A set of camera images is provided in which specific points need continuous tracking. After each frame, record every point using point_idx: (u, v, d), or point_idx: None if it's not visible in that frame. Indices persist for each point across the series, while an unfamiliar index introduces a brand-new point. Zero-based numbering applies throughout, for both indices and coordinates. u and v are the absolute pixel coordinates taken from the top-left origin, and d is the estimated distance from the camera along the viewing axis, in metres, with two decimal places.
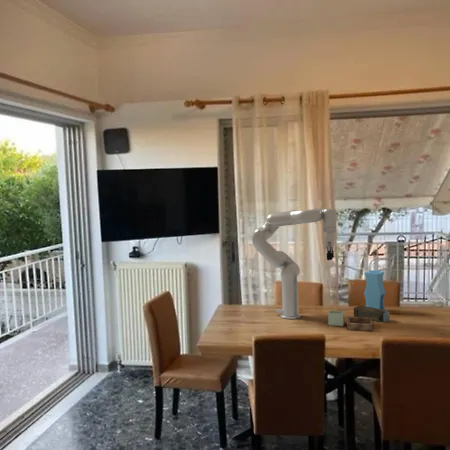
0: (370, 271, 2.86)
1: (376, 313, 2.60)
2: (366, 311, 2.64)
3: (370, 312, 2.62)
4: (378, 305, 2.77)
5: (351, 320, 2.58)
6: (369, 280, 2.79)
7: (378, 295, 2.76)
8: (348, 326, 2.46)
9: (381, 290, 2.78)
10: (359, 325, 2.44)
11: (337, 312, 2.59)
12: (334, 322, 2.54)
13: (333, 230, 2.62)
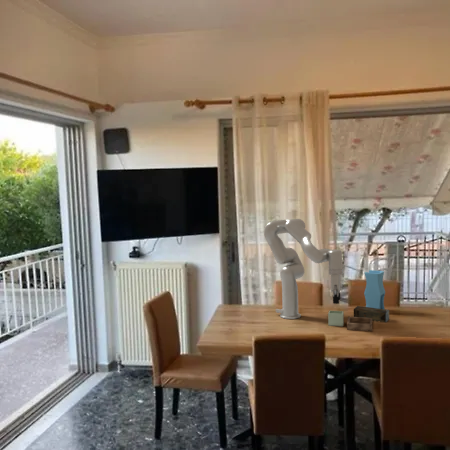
0: (370, 271, 2.86)
1: (378, 313, 2.60)
2: (367, 311, 2.63)
3: (371, 312, 2.62)
4: (378, 305, 2.77)
5: (351, 320, 2.58)
6: (369, 280, 2.79)
7: (378, 295, 2.76)
8: (348, 326, 2.46)
9: (381, 290, 2.78)
10: (359, 325, 2.44)
11: (337, 312, 2.59)
12: (334, 322, 2.54)
13: (339, 272, 2.52)
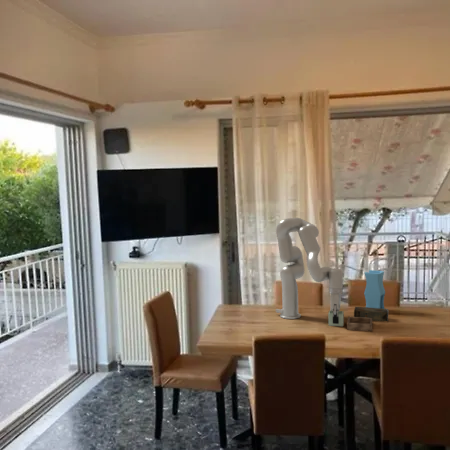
0: (370, 271, 2.86)
1: (380, 313, 2.61)
2: (368, 312, 2.63)
3: (373, 312, 2.62)
4: (378, 305, 2.77)
5: (351, 320, 2.58)
6: (369, 280, 2.79)
7: (378, 295, 2.76)
8: (348, 326, 2.46)
9: (381, 290, 2.78)
10: (359, 325, 2.44)
11: None
12: None
13: (339, 292, 2.53)
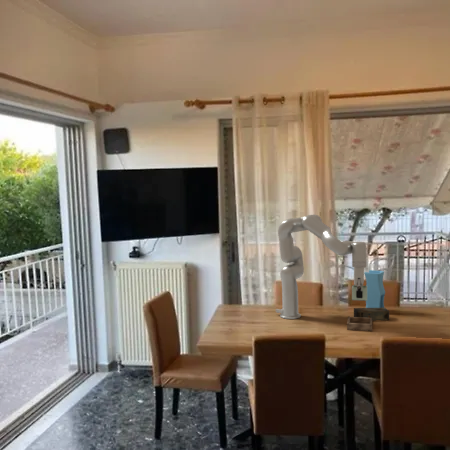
0: (370, 271, 2.86)
1: (382, 312, 2.62)
2: (371, 312, 2.62)
3: (376, 312, 2.62)
4: (378, 305, 2.77)
5: (351, 320, 2.58)
6: (369, 280, 2.79)
7: (378, 295, 2.76)
8: (348, 326, 2.46)
9: (381, 290, 2.78)
10: (359, 325, 2.44)
11: None
12: None
13: (363, 265, 2.46)
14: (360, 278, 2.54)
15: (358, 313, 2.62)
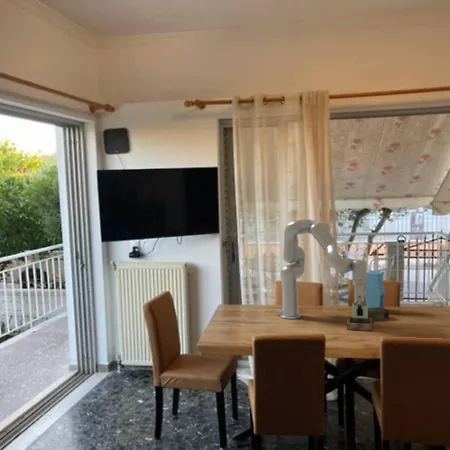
0: (370, 271, 2.86)
1: (382, 311, 2.63)
2: (373, 312, 2.62)
3: (377, 312, 2.62)
4: (378, 305, 2.77)
5: (351, 320, 2.58)
6: (369, 280, 2.79)
7: (378, 295, 2.76)
8: (348, 326, 2.46)
9: (381, 290, 2.78)
10: (359, 325, 2.44)
11: None
12: None
13: (363, 283, 2.46)
14: None
15: None
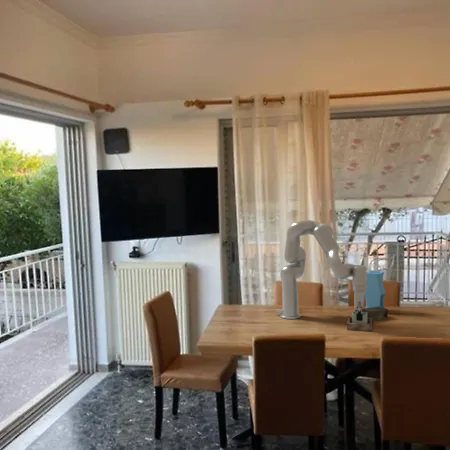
0: (370, 271, 2.86)
1: (382, 311, 2.64)
2: (374, 312, 2.62)
3: (378, 312, 2.63)
4: (378, 305, 2.77)
5: (351, 320, 2.58)
6: (369, 280, 2.79)
7: (378, 295, 2.76)
8: (348, 326, 2.46)
9: (381, 290, 2.78)
10: (359, 325, 2.44)
11: None
12: (358, 323, 2.48)
13: (363, 289, 2.46)
14: None
15: None
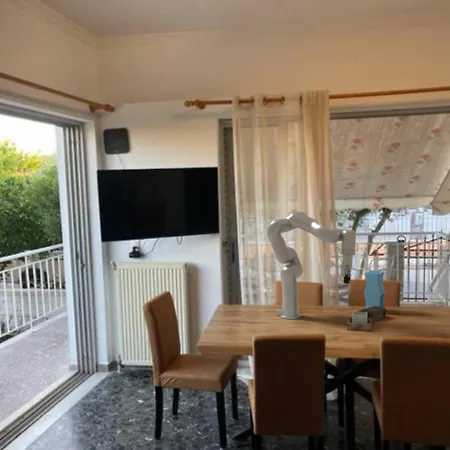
0: (370, 271, 2.86)
1: (382, 310, 2.66)
2: (376, 312, 2.62)
3: (378, 311, 2.63)
4: (378, 305, 2.77)
5: (351, 320, 2.58)
6: (369, 280, 2.79)
7: (378, 295, 2.76)
8: (348, 326, 2.46)
9: (381, 290, 2.78)
10: (359, 325, 2.44)
11: (361, 313, 2.53)
12: (358, 323, 2.48)
13: (352, 253, 2.51)
14: None
15: (369, 315, 2.57)
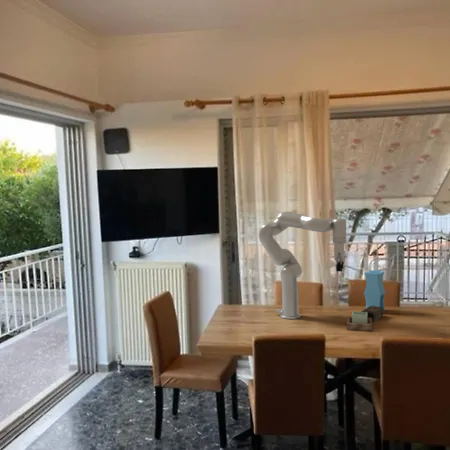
0: (370, 271, 2.86)
1: (380, 309, 2.67)
2: (377, 312, 2.62)
3: (379, 311, 2.64)
4: (378, 305, 2.77)
5: (351, 320, 2.58)
6: (369, 280, 2.79)
7: (378, 295, 2.76)
8: (348, 326, 2.46)
9: (381, 290, 2.78)
10: (359, 325, 2.44)
11: (361, 313, 2.53)
12: (358, 323, 2.48)
13: (343, 241, 2.56)
14: None
15: (373, 315, 2.56)
